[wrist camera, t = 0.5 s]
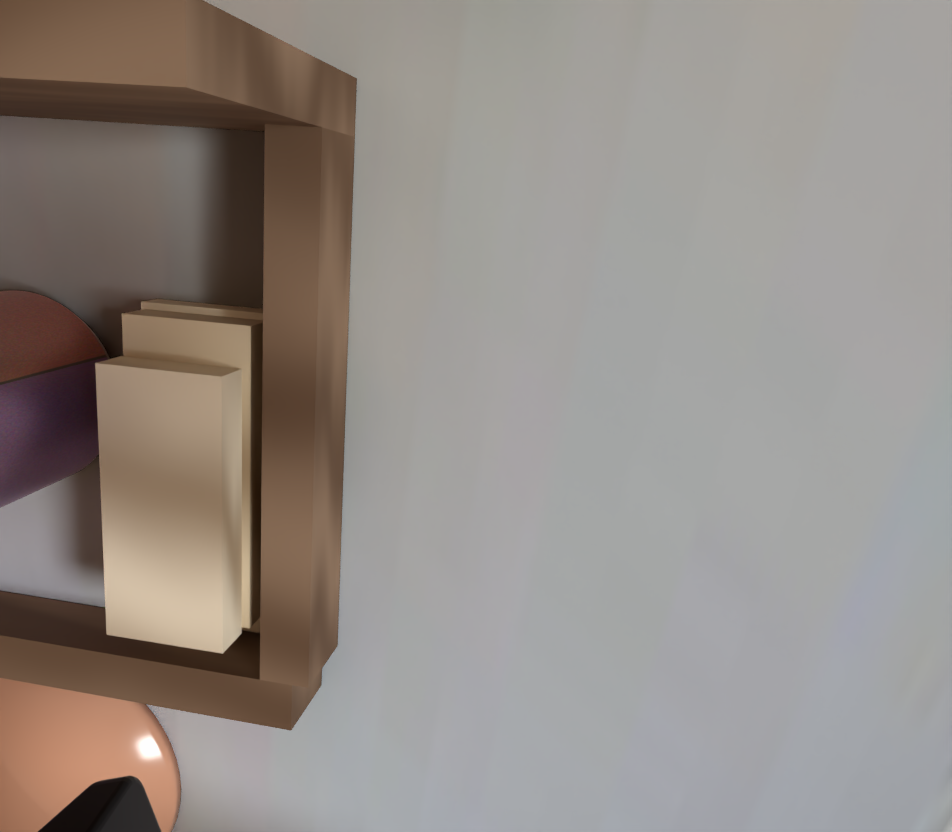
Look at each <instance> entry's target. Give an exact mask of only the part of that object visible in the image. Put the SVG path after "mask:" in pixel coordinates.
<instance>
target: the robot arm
mask: <svg viewBox="0 0 952 832" xmlns="http://www.w3.org/2000/svg"><path fill="white" fill-rule="evenodd" d="M38 832H161V829H160V827H159V824H158V821H157V819H156V816H155V814H154V811H153V809H152V806H151V804H150V801H149V799H148V796H147V794H146V791H145V789H144V786H143V785H142V783H141V781H140V780H139V779H138V778H136V777H134V776H123V777H118V778H112V779H106V780H101V781H98V782H95V783H93V784H91V785H90V786H89V787H88V788H86V789H85V790H84V791H83V792H82V793H81V794H80V795H79V796H77V797H76V798H75V799H74V800H73V801H72V802H71V803H69V804H68V805H67V806H66V807H65V808H64V809H63V810H62V811H60V812H59V813H58V814H57V815H56V816H55V817H54V818H52V819H51V820H50V821H49V822H48V823H47V824H46V825H45V826H43V827H42V828H41V829H40V830H39V831H38Z"/></svg>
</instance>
